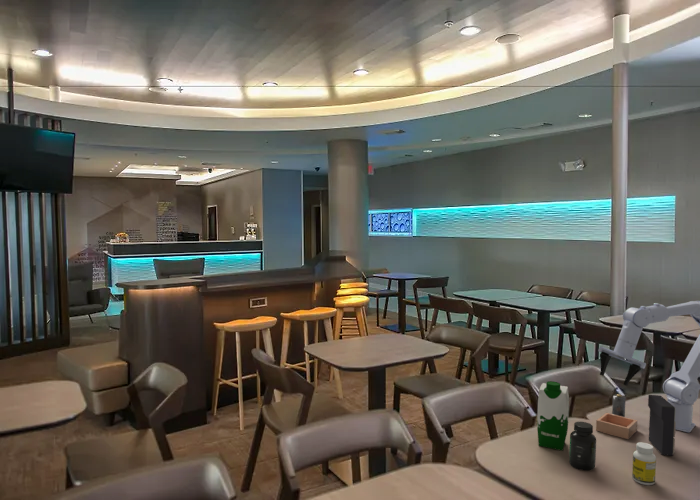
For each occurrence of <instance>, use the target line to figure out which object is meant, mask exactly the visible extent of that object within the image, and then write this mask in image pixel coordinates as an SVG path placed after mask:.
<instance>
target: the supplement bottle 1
mask: <svg viewBox="0 0 700 500" xmlns="http://www.w3.org/2000/svg"><path fill="white" fill-rule="evenodd" d="M593 432H594V425H593V424H592V423H589V422H586V421H575V422H574V424H573V431H572V432H570V434H569V452H568V453H569V454H568V455H569V456H568V457H569V458H568V460H569V461H568V462H569V465H570V466H571V467H572V468H575V469H577V470H580V471H585V472H588V471H593V470H594V469H595V468H596V459H597V458H596V456H597V438H596V436H595V435H594V434H593Z"/></svg>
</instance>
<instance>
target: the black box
mask: <svg viewBox="0 0 700 500" xmlns="http://www.w3.org/2000/svg"><path fill="white" fill-rule="evenodd" d="M647 400H648V401H647V402H648V403H647V407H648V408H649V420H648V421H649V422H648V423H649V425H648V427H649V428H648V441H649V442H650V443H651V445H652V446H653V448H655V449H656V450H657V451H658V452H659V453H660V455H661V456H670V457H673V455H674V454H675V447H676V446H675V442H676V441H675V439H676V438H675V437H676V429H675V426H676V422H675V421H674V420H675V410H676V409H675V407H674V406H673V405H671V404H670V403H669V402H668V401H667V399H666V398H664V397H663V395H656V394H648V399H647Z"/></svg>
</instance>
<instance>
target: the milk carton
mask: <svg viewBox="0 0 700 500" xmlns="http://www.w3.org/2000/svg"><path fill="white" fill-rule="evenodd" d="M569 401H570V395H569V386H565V385H561V383H560V382H559V381H546V383H545V382H542V383H541V385H540V387H539V390H538V399H537V424H536V425H537V426H536V427H537V429H536V430H537V440H538V442H537V443H538V447H543V448H548V449H553V450H557V451H563V450H564V448H565V442H566V440H567V435H568V429H569V408H570V405H569V404H570V403H569Z"/></svg>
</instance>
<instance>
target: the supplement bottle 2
mask: <svg viewBox="0 0 700 500" xmlns="http://www.w3.org/2000/svg"><path fill="white" fill-rule="evenodd" d="M635 445H636V447H635V449H636V450H635V451H634V452H633V453H632V474H631V475H632V477H631V478H632V479H633V481H634V482H636V483H638V484H641V485H643V486H644V485H645V486H652V485H654V484H655V483H656V475H657V473H656V469H657V457H656V455H655V454H654V446H653V444H650V443H647V442H641V441H640V442H639V441H638V442H637V443H636V444H635Z"/></svg>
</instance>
